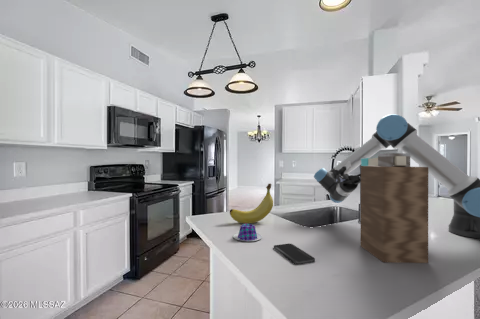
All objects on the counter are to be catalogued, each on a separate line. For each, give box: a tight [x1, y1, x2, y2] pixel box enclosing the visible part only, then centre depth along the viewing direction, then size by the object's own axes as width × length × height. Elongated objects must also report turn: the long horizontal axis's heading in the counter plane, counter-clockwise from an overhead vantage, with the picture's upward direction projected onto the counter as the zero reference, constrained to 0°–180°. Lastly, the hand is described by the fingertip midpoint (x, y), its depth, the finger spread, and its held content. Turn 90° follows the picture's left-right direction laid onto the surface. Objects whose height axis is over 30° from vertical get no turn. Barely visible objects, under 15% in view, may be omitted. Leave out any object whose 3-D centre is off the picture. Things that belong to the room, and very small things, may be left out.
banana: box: [229, 183, 274, 224], centre depth 119 cm, size 23×6×20 cm, turn 101°
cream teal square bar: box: [360, 156, 406, 167], centre depth 86 cm, size 3×22×3 cm, turn 0°
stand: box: [360, 152, 429, 264], centre depth 80 cm, size 14×14×34 cm
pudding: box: [232, 223, 263, 242], centre depth 96 cm, size 12×12×5 cm
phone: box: [273, 243, 316, 266], centre depth 79 cm, size 8×1×15 cm
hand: (366, 164), depth 95 cm, fingers open, 13 cm apart
